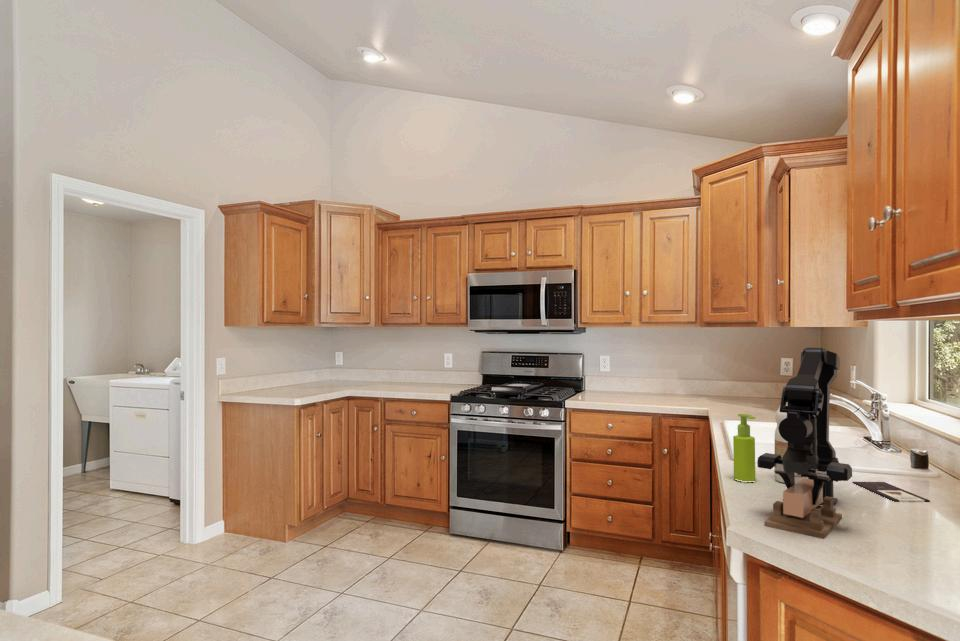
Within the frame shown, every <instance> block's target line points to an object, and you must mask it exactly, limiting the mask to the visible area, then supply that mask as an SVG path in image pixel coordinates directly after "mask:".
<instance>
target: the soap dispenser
mask: <svg viewBox="0 0 960 641" xmlns="http://www.w3.org/2000/svg"><path fill="white" fill-rule="evenodd" d="M737 416H738V417H740V423H739V424H737V434H736V435H733V438H732V439H733V440H732V442H733V444H732V445H733V446H732V447H733V479H734V478H735V479H738V480H742V481H755V482H756V439H755V438H756V437H754V436H751V425H749V424H748V419H749V420H753V419H756V416H754V415H752V414H748V413H738V414H737Z"/></svg>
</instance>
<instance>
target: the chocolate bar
mask: <svg viewBox="0 0 960 641" xmlns="http://www.w3.org/2000/svg"><path fill="white" fill-rule="evenodd" d="M853 483H854V484H853ZM852 484H853V485H855V484H856V486H857V485H858V486H857V487H859V486H860V487H859V488H862V487H863V488H862V489H864V488H865V489H864V490H866V489H867V490H866V491H868V490H869V491H868V492H870V493H873V492H874V494H875V493H876V494H875V495H877V494H878V496H879V495H880V497H882V498H884V497H885V498H884V499H886V498H887V500H888V499H889V501H891V500H892V501H891V502H893V501H894V502H893V503H923V502H930V503H931V500H930V499H927V498H925V497H922V496H919V495H917V494H915V493H912V492H910V491H907V490H906V489H905V490H904V489H902V488H900V487H897V486H895V485H892V484H890V483H889V482H885V481H852Z"/></svg>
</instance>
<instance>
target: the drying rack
mask: <svg viewBox="0 0 960 641" xmlns="http://www.w3.org/2000/svg"><path fill="white" fill-rule="evenodd" d="M772 510H773V512H772V513H771V514H770V516H769V517H768V518H767V519H765V520H764V521H763V523H764V524H763V525H764V526H765V527H769V528H774V529H779V530H783V531H788V532H791V533H797V534H801V535H805V536H810V537H815V538H819V539H826V537H827V536H828V535H829V534H830V533H831V532H832V531H833V529H834V528H835V527H837V525H838V524H839V523H840V521H842V519H843V514H842V513H838V512H836V511H837V510H836V508H835V507H834V505H833V497H828V496H826V497H824V498H823V504H822V505H821V504H820V505H818V506H817V507H816V508H812V509H811V510H810V513H808V514H807V515H806V516H805V517H803V518H802V517H797V516H792V515H787V514H783V501H780V500H776V501H775V502H774V503H773V504H772Z"/></svg>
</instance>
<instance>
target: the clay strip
mask: <svg viewBox="0 0 960 641" xmlns="http://www.w3.org/2000/svg"><path fill="white" fill-rule="evenodd" d="M813 487H814V481H813V480H811V479H805V478H804V479H802V480H801V481H799V482H798V483H796V484H794V485H793V486H791V487H790V488H788V489H787V488H786V489H785V490H783V491H782V497H783V498H782V500H783V501H782V502H783V514H787V515H792V516H797V517H802V518H803V517H805V516H806V515H807V514H808V513H810V510H811V509H812V508H816V507H817V506H818V505H820V506H821V503H822V502H823V487H822V490H821V492H820V495H819V497H818V500H817V502H816V504H815V505H813V501H812V497H813Z"/></svg>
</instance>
